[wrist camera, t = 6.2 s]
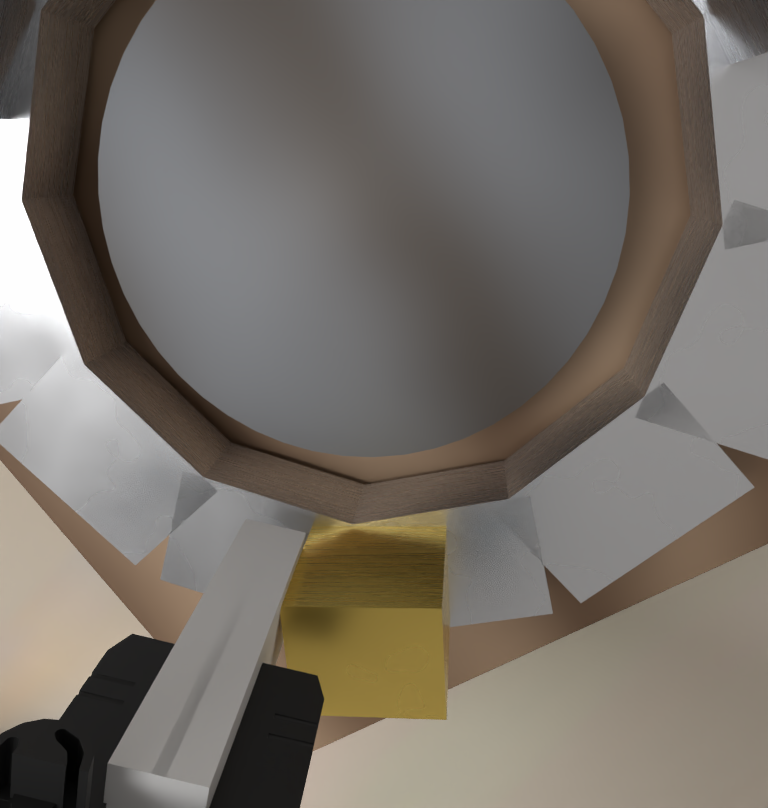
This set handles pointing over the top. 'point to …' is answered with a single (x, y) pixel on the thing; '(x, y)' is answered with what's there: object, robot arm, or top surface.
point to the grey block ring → (413, 496)
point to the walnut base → (387, 248)
